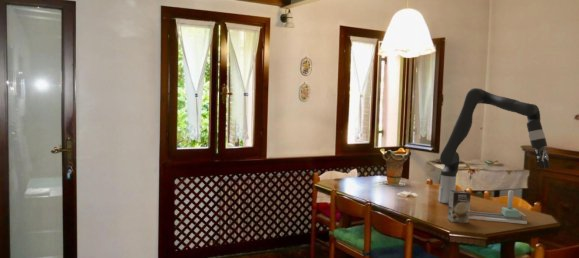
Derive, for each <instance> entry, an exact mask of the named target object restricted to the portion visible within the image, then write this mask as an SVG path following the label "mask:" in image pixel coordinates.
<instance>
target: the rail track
mask: <svg viewBox="0 0 579 258" xmlns="http://www.w3.org/2000/svg"><path fill="white" fill-rule="evenodd" d="M518 211H519V210H518ZM527 217H528V216H527V215H526V214H525V213H523V212H522V211H519V218H516V217H505V216H504V215H503V214H502V213H495V212H494V213H493V212H483V211H472V210H471V209H470V208H469V219H468V220H478V221H488V222H500V223H510V224H511V223H512V224H523V225H527V224H528V221H527V219H528V218H527Z"/></svg>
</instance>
